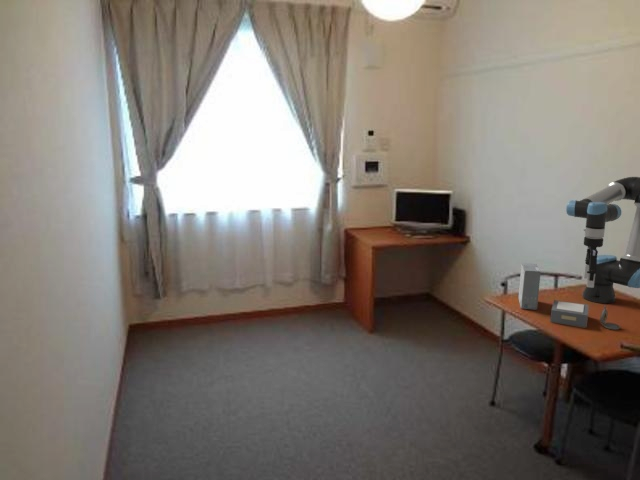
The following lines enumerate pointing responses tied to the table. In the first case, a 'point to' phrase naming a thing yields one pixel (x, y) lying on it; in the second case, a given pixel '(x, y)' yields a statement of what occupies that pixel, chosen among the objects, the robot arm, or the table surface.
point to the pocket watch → (607, 325)
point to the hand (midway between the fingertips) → (588, 282)
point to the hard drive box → (529, 286)
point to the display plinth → (569, 313)
